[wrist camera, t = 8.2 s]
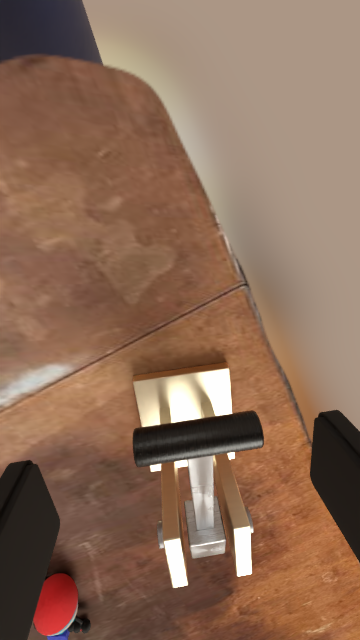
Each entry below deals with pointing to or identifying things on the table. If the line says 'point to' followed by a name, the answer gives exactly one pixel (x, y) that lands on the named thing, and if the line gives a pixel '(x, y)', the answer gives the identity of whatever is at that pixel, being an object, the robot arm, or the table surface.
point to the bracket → (180, 405)
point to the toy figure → (59, 609)
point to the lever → (199, 466)
